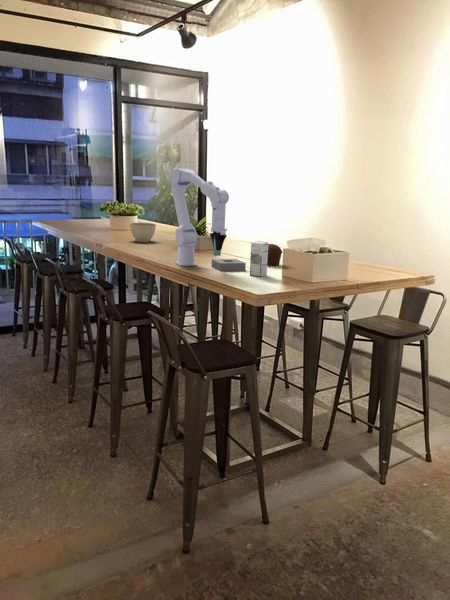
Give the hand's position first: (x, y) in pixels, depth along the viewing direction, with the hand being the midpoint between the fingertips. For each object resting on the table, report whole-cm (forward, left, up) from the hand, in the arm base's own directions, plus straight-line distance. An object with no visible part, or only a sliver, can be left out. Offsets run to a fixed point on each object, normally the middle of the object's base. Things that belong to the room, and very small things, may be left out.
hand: (217, 249), depth 229 cm
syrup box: (+13, +14, -10) cm, 22 cm away
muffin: (-13, +32, -10) cm, 36 cm away
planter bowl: (-108, -11, -10) cm, 109 cm away
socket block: (-5, +7, -9) cm, 13 cm away
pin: (0, 0, -2) cm, 2 cm away
